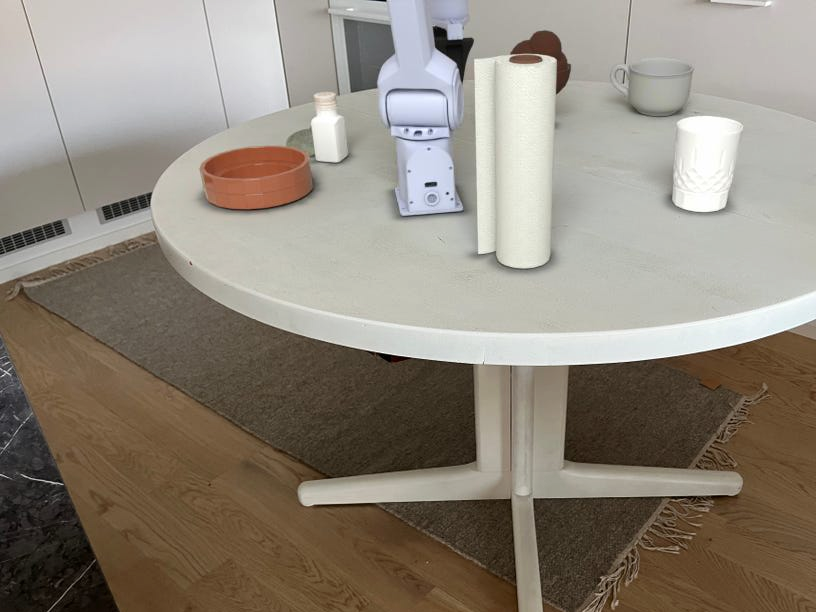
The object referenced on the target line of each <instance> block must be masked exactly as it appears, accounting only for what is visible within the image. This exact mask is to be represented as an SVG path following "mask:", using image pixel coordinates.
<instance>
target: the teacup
mask: <svg viewBox="0 0 816 612" xmlns="http://www.w3.org/2000/svg"><path fill="white" fill-rule="evenodd" d="M694 70H695V66H694V65H693V64H692V63H691V62H689V61H686V60H683V59H680V58H679V59H677V58H671V57H645V58H641V59H637V60H634V61H632V62H631V63H630V64H629V65H628V64H626V63H622V62H621V63H617V64H615V65H614V66H613V67H612V68H611V71H610V73H609V79H610V82H611V84H612V86H613V87H614V88H615V89H616V90H617V91H618V92H620V93H621V94H623V95H624V98H625V99H626V100H628V101H629V103H630V104H631V106H632V107H633V108H635V110H636V111H637V112H638V113H639V114H642V115H644V116H650V117H668V116H672V115H675V114H676V113H677V112H678V111H679V110H682V108H684V107H685V105H687V102H688V101H689V98H690V93H691V87H692V82H693V81H692V80H693V72H694ZM618 71H622V72H624V73H625V75H626V79H627V81H628V85H627V87H628V88H627V87H625V86H624V85H622V84H621V83H620V82H619V80H618V79H617V72H618Z"/></svg>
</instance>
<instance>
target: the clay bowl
mask: <svg viewBox="0 0 816 612" xmlns="http://www.w3.org/2000/svg"><path fill="white" fill-rule="evenodd" d="M310 159H311V157H310V156H309V155H308V154H307V153H306V152H305V151H302V150H299V149H296V148H292V147H286V145H255V146H253V145H252V146H246V147H239V148H234V149H230V150H226V151H223V152H219V153H217V154H214V155H212V156H209V157H208V158H206V159H205V160H204V161H203V162H200V166H199V169H198V170H199V174H200V178H201V182H202V187H203V192H204V196H205V198H206V200H207V201H208V202H209V203H211V204H212V205H214V206H217V207H220V208H224V209H225V208H226V209H229V210H230V209H231V210H255V209H267V208H272V207H277V206H282V205H286V204H289V203H292V202H295V201H298V200H299V199H301V198H303V197H305V196H307V195H308V194H309V193H310V192H311V191H312V190H313V188H314V182H313V173H312V167H311V160H310Z"/></svg>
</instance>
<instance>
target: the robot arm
mask: <svg viewBox="0 0 816 612" xmlns="http://www.w3.org/2000/svg"><path fill="white" fill-rule="evenodd" d="M468 2H469V1H468V0H386V6H387V13H388V18H389V23H390V29H391V35H392V41H393V48H394V53H393V55H391V56H390V57H389V58H388V59H386V61H385V62H384V63H383V64H382V66H381V68H380V71H379V73H378V76H377V81H376V86H377V93H378V100H377V101H378V114H379V118H380V121H381V123H382V124H383V125H384V127H385V128H386V129H388V130H390V135H391V137H395V138H394V139H395V154H396V163H397V164H396V165H397V178H398V186H397V187H395V188H394V193H395V198H396V201H397V205H398V210H399V214H400V216H402V217H407V216H417V215H430V214H443V213H444V214H445V213H454V212H455V213H457V212H462V211H464V205H463V203H462V200H461V198H460V196H459V194H458V191H457V189H456V184H455V165H454V164H455V163H454V144H453V143H454V141H453V132H454V131H457V130H458V129H459V128H460V127H461V126H462V124H463V121H464V113H465V92H464V91H465V90H464V85H463V84H464V79H465V72H466V66H467V61H468V58H469V55H470V52H471V50H472V48H473V46H474V42H475V38H473V37H472V36H471V37H464V29H465V28H464V27H465V26H466V25H467V24H468V23H469V22H470V14H469V3H468Z"/></svg>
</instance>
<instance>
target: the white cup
mask: <svg viewBox="0 0 816 612" xmlns="http://www.w3.org/2000/svg"><path fill="white" fill-rule="evenodd" d="M675 128H676V129H675V139H674V140H675V142H674V154H673V172H672V173H673V174H672V177H673V185H672V186H673V187H672V197H671V201H672V202H673V204H674V206H676V207H678V208H680V209H682V210H685V211H690V212H695V213H710V212H711V213H712V212H718V211H721V210H722V209H725V207H726V205H727V204H728V198H729V194H730V188H731V187H732V183H733V179H734V175H735V169H736V166H737V162H738V157H739V152H740V147H741V141H742V137H743V132H744V125H743V124H742V123H741V122H740V121H738V120H735V119H732V118H727V117H721V116H712V115H697V116H689V117H688V116H687V117H683V118H681V119H679V120H678V121H677V122H676V127H675Z"/></svg>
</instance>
